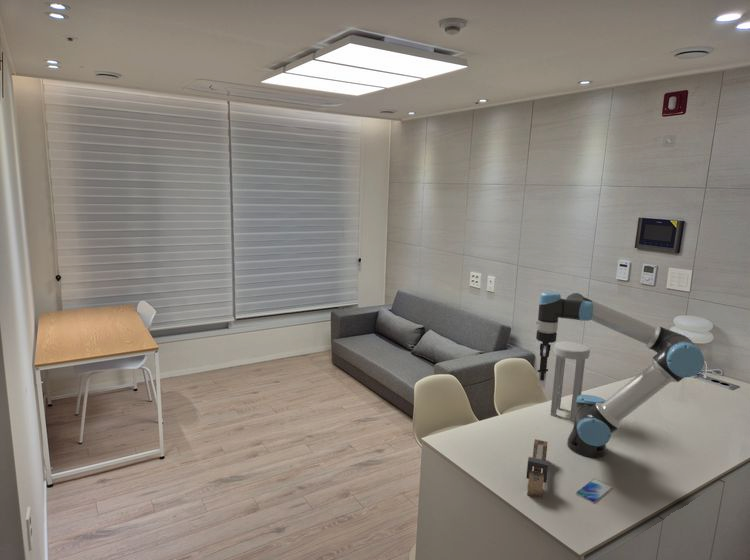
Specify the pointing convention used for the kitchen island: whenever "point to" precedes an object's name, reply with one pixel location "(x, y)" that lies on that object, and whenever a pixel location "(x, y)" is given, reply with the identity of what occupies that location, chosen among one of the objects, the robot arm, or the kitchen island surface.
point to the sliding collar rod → (537, 470)
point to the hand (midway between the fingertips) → (541, 386)
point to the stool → (562, 352)
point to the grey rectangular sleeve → (537, 463)
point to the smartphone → (594, 490)
